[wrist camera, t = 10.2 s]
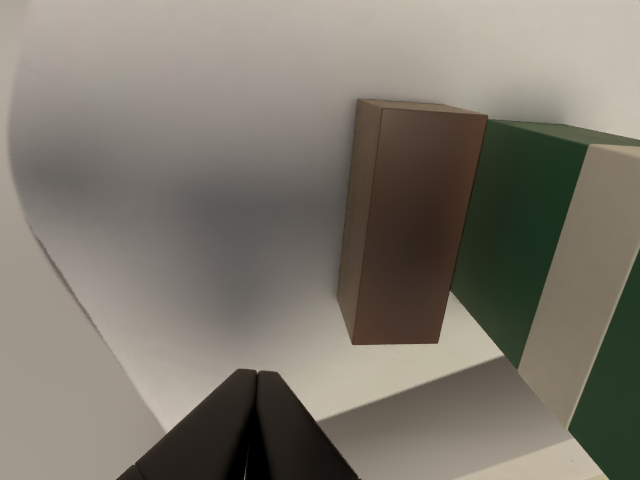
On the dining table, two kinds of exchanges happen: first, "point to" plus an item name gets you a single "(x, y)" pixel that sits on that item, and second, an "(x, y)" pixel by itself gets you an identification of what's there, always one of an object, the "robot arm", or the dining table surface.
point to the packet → (562, 276)
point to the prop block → (405, 218)
